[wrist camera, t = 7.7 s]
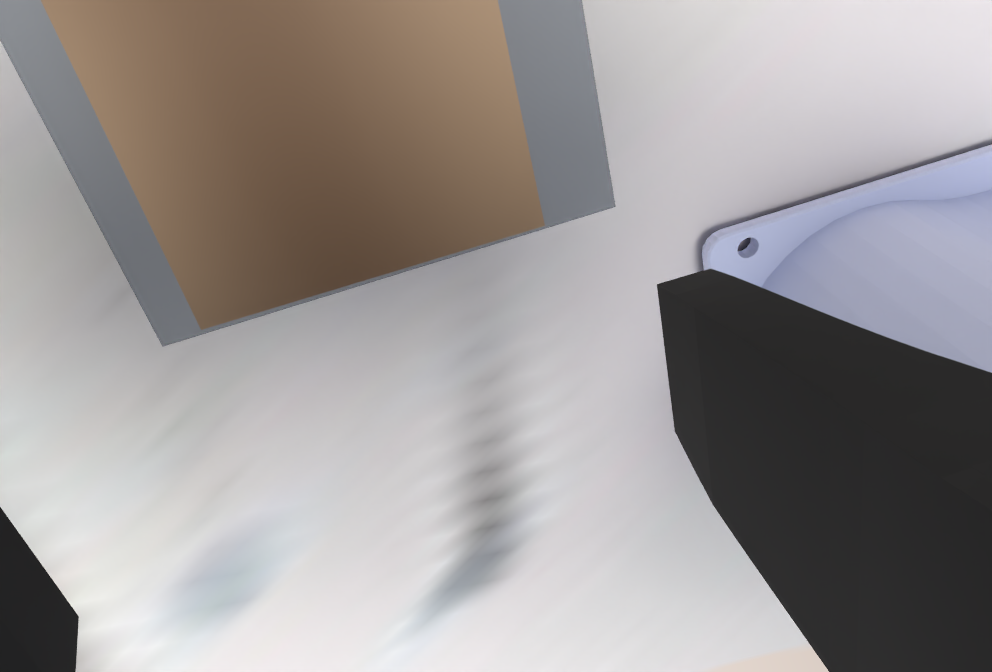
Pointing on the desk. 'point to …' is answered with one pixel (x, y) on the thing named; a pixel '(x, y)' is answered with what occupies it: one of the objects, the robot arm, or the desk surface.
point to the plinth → (563, 197)
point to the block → (305, 136)
